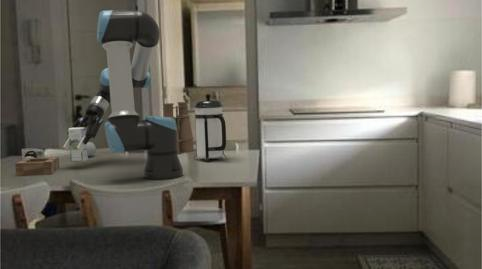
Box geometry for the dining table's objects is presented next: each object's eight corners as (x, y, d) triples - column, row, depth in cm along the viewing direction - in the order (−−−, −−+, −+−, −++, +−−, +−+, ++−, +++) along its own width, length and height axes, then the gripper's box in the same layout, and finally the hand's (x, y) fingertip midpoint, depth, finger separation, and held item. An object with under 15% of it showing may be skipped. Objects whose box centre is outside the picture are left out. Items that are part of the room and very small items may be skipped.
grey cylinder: (97, 156, 267) (96, 140, 266) (84, 158, 260) (83, 142, 259) (83, 155, 273) (82, 140, 272) (70, 157, 266) (69, 142, 265)
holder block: (51, 174, 221) (50, 162, 221) (16, 175, 220) (15, 163, 219) (59, 168, 235) (58, 156, 234) (26, 169, 234) (25, 158, 233)
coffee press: (188, 162, 239) (185, 94, 236) (199, 157, 255) (197, 93, 251) (226, 163, 235) (224, 94, 232) (235, 157, 250) (233, 92, 247)
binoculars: (171, 155, 261) (169, 104, 258) (156, 154, 266) (153, 104, 263) (198, 150, 277) (196, 101, 275) (183, 149, 283) (181, 101, 280)
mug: (25, 164, 247) (24, 150, 247) (20, 163, 253) (19, 149, 252) (47, 162, 254) (46, 148, 253) (42, 160, 259) (41, 146, 258)
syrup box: (88, 159, 236) (85, 126, 235) (83, 161, 230) (80, 127, 229) (75, 160, 237) (73, 127, 235) (70, 162, 231) (67, 128, 230)
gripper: (118, 114, 240) (94, 155, 228) (85, 114, 250) (60, 153, 238) (109, 102, 235) (84, 144, 223) (75, 103, 245) (50, 143, 232)
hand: (72, 149), depth 230 cm, fingers closed on syrup box, 7 cm apart
